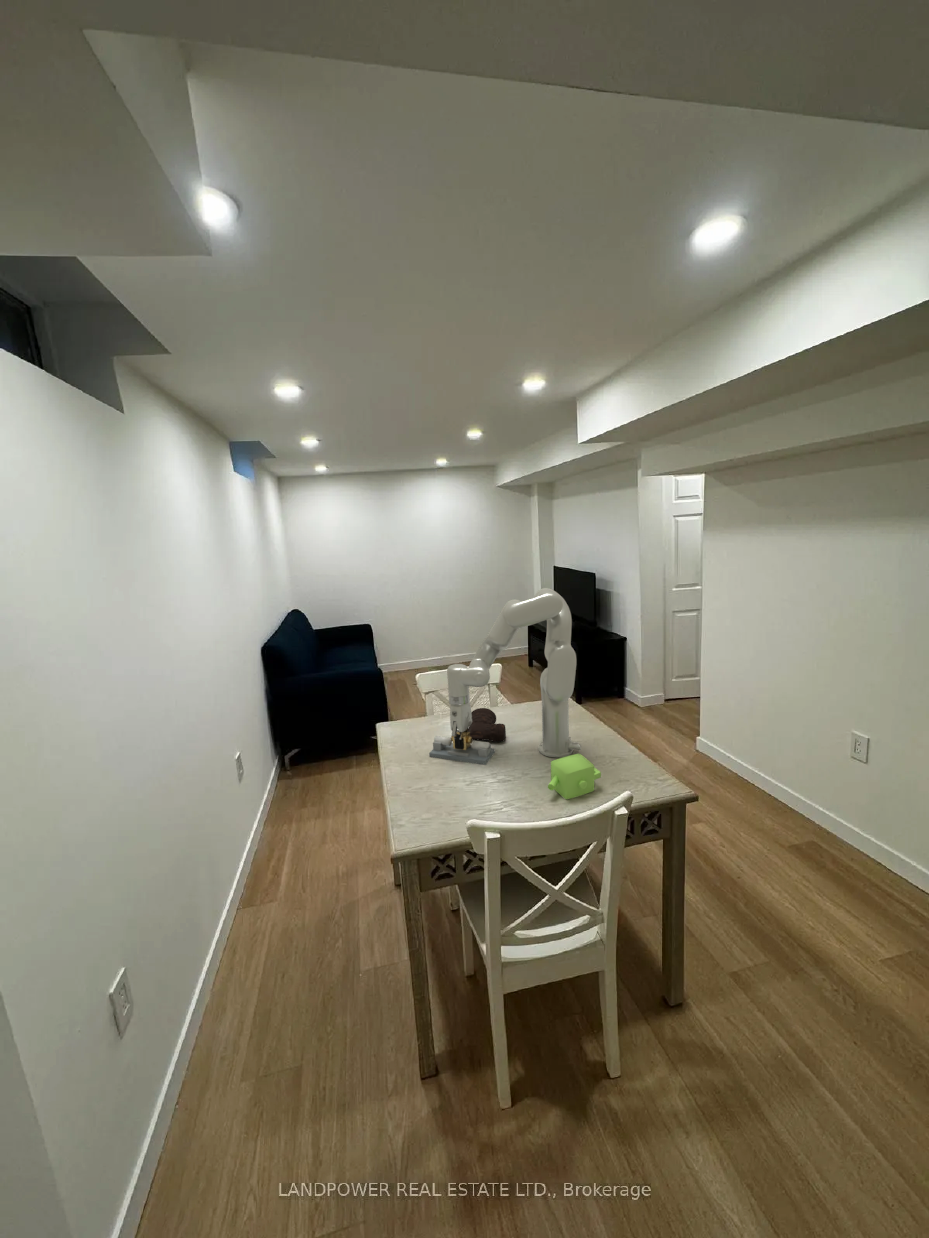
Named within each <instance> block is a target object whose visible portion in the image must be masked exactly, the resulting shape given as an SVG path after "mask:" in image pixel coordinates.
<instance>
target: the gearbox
mask: <svg viewBox="0 0 929 1238" xmlns="http://www.w3.org/2000/svg"><path fill="white" fill-rule="evenodd" d="M600 778H602V772H601V771H600V770H599V769H597V768H596V767H595V765H594V764H593V763H592V762H591V761H590V760H589V759H587V758H586V757H585V756H584V755H582V754H581V753H576V754H575V753H574V754H570V755H568V756H566V757H559V758H557V759H554V760H551V761H550V782H549V783H548V785H547V789H548V790H549V791H556V793H557V794H559V795H560V796H561V797H562V798H563V799H565V800H571V799H574V798H577V797H581V796H585V795H586V794H590V793H592V792H594V791H595V780H598V779H600Z"/></svg>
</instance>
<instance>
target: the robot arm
mask: <svg viewBox="0 0 929 1238" xmlns="http://www.w3.org/2000/svg"><path fill="white" fill-rule="evenodd" d="M544 621H546V637H545V643H544V644H545V645H544V657H545V659H546V661H547V667H546V668H544V670H543V671H542V672H541V674H540V680H539V683H540V684H539V685H540V694H541V732H542V738H541V739H542V742H541V743H539V744H538V752H539V753H540V754H541V755H543V756H546V757H549V758H557V759H559V758H563V757H566V756H570V755H573V753H574V750H576V751H581V750H582V744H579V743H580V742H579V741H573V740H572V737H571V736H570V729H569V728H570V726H569V725H570V724H569V718H570V717H569V716H570V715H569V709H570V708H569V706H570V705H569V699H570V698H571V697H572V695H573V693H574V688H575V681H576V670H577V653H576V651H575V650H574V648H573V647H572V645H571V643H572V642H571V641H572V628H573V627H572V623H573V621H572V613H571V609H570V607H569V605H568V604H567V601H566V600H565V598H564V597H563V596H561V595H560V594H559V593H558V592H557V591H555V590H553V589H551V588H549V587H543V588H540V589H539V590H537V591H536V592H535V595H534V597H532V598H530V599H526V600H523V601H521V600H520V599H515V598H514V599H510V600H508V601H506V603H505V604H504V606H503V607H502V609H501V611H500V612H499V614H498V615H497V617H496V619H495V621H494V623H493V625H492V626H491V628H490V630H489V631H488V633H487V635H486V636H485V638H484V640H483V641H482V642H481V644H480V646H479V647H478V649H477V650H476V651H475V654H474V656H473V657H472V659H471V661H470V663H469V666H467V665H465V664H463V663H455V664H451V665H449V666H448V667H447V669H446V672H447V673H446V675H447V676H446V678H447V687H448V688H447V690H448V691H447V692H448V703H449V706H450V707H449V708H450V709H449V720H450V721H449V724H450V730H451V736H453V737H454V740H455V748H456V749H463V748H464V746H463V739H462V732H469V726H470V725H471V724H472V713H471V712H472V707H471V700H470V699H471V698H470V687H472V688H473V687H475V688H482V687H485V686H487V685H488V684H489V682H490V680H491V675H490V669H491V667H492V665H493V664H494V662H495V660H496V659H497V657H498V656H499V655H500V653H501V652H502V651H504V650H506V649H507V648H508V647H510V646H511V643H512V642H513V640H514V638H515V636H516V635H517V634H518V631H519V630H520V628H521V629H522V628H526V627H528V626H533V625H536V624H538V623H541V622H544ZM457 732H459V733H460V735H459V734H457Z"/></svg>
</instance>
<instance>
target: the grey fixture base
mask: <svg viewBox="0 0 929 1238" xmlns="http://www.w3.org/2000/svg"><path fill="white" fill-rule="evenodd" d="M491 744H492V743H490V742H488V741H487V742H486V741H482V740H472V743H471V745H470V746H469V747H468V748H467V750H461V749H453V741H451V737H450V736H448V737H447V736H443V735H442V736H441V735H435V737H434V739H433V742H432V750H430V752H429V753H428V754H429V755H428V756H429V758H436V759H444V760H450V761H457V762H463V763H469V764H475V765H476V764H478V765H484V766H486V765H487V763H488V762H490V761H491V758H492V757H493V755H494V754H495V753H496V752H495V751H496V750H495V749H496V748H493V747H492V745H491Z"/></svg>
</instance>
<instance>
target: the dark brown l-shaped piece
mask: <svg viewBox="0 0 929 1238" xmlns="http://www.w3.org/2000/svg"><path fill="white" fill-rule="evenodd" d="M471 713H472V724H471V725H470V726H469V727H468V729H469V732H470V737H472V741H491V742H493V743H494V742H497V743H501V742H504V741H506V738H507V731H506V724H505V723H500V722H499V723H497V715H496V713H495V712H494V711H493V710H491V709H489V708H486V707H480V708H476V709H474V710H471Z"/></svg>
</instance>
